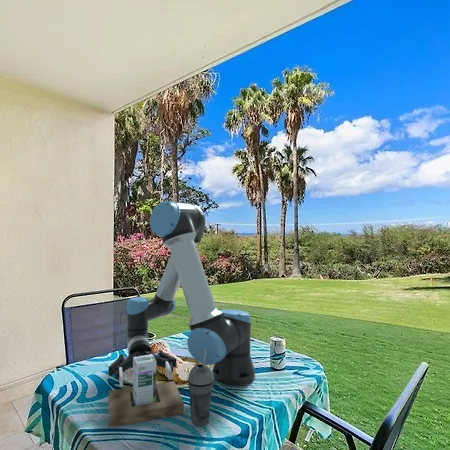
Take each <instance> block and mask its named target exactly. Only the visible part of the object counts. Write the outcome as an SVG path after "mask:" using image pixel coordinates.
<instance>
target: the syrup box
mask: <svg viewBox="0 0 450 450" xmlns="http://www.w3.org/2000/svg"><path fill="white" fill-rule="evenodd" d="M156 384H157V365H156V359H155V357H154V356H153V355H152V354H150V355H144V356H138V357H133V368H132V387H133V402H132V405H133V406H139V405H145V404H151V403H157V398H156ZM133 406H132V407H133Z"/></svg>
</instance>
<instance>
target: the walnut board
mask: <svg viewBox="0 0 450 450" xmlns="http://www.w3.org/2000/svg"><path fill="white" fill-rule="evenodd" d="M181 396H182V395H181V393H180V391H179V389H178V387H177V384H176V382H175V380H173V381H166V382H165V381H164V382H160V383H156V403H151V404H145V405H139V406H132V405H133V404H132V403H133V386H131V387H127V388H119V389H111V390H108V429H110V428H117V427H122V426H126V425H127V426H128V425H132V424H133V425H134V424H137V423H143V422H148V421H149V422H150V421H155V420H160V419H166V418H170V417H177V416H181V415H184V413H185V411H184V410H185V409H184V407H185V406H184V402H183V399H182V397H181Z"/></svg>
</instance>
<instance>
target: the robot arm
mask: <svg viewBox="0 0 450 450" xmlns="http://www.w3.org/2000/svg"><path fill="white" fill-rule="evenodd" d="M151 211H152V212H151V214H150V217H149V226H150V227H149V228H150V229H151V231H152V233H153V234H155V235H156V236H158V237H160V238H161V241H162V244H163V246H165V247H167V248H168V249H169V250H170V256H169V259H168V261H167V264H166V266H165V268H164V271H163V275H162V276H161V280H160V281H159V285H158V287H157V289H156V292H155V295H154V297H153V298H152V299H148V298H147V297H145V296H136V297H131V298H129V299H128V300H127V306H126V307H127V308H126V337H125V338H126V339H125V342H126V346H127V352H128V356H125V355H124V354H119V356H118V358H117V359H115V361H113V362H112V363H111V364H110V365H108V376H109V377H111V376H113V375H114V379H115V380H118V381H119V388H121V387H124V385H123V384H124V379H123V377H124V376H123V374H124V373H125V372H126V371H128V370H129V369H133V357H138V356H144V355H150V354H152V355H153V356H154V357H155V359H156V367H160V368H164V369H165V373H166V376H167V378H168V380H169V381H171V380H172V379H173V377H172V373H173V372H174V368H177V362H178V361H177V358H176V357H174V356H172V355H170V354H167V353H166V352H164V351H163V350H161V349H159V350H158V352H156V353H155V352H153V350H152V347H151V344H150V342H149V341H150V340H149V338H148V337H149V335H148V334H149V332H148V331H149V321H152V320H155V319H158V318H161V317H163V316H167V315H169V314H171V313H172V312H174V310H175V309H176V301H175V297H176V294H177V292H178V290H179V286H181V289H182V291H183V292H182V293H183V295H184V298H185V300H186V301H185V302H186V305H187V307H188V311H189V314H190V317H191V319H190V320H189V323H188V327H189V330H190V332H189V334H188V339H187V340H186V344H187V349H188V352H189V354H190V355H191V357H192V358H193V359H194V360H195V361H197V362H198V363H199V364H203V359H204V351H205V349H207V350H206V358H205V365H207V366H210V365H213V366H212V368H211V370H212V373H213V376H214V382H217V383H218V384H221V385H225V386H229V387H230V386H231V387H235V386H237V387H239V386H245V385H248V384H250V383H252V382H254V380H255V379H256V378H255V377H256V370H255V366H254V362H253V359H252V356H251V339H252V338H251V336H252V335H251V334H252V331H251V330H252V321H251V318H252V317H251V314H250V313H249V312H247V311H243V310H240V309H239V310H238V309H230V308H229V309H227V308H225V309H224V308H223V309H218V308H217V306H216V303H215V300H214V296H213V294H212V291H211V288H210V285H209V281H208V279H207V275H206V273H205V272H206V271H205V270H204V267H203V263H202V261H201V258H200V255H199V251H198V249H197V245H198V244H200V243H201V242H202V241H201V240H202V238H203V236H204V233H205V230H206V229H205V228H206V216H205V214H204V212H203V210H202V208H201V207H199V205H197V204H195V203H191V202H180V201H173V200H170V201H162V202H160V203H158V204H156V205H155V206H154V208H153V209H152V210H151Z"/></svg>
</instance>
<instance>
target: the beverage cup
mask: <svg viewBox="0 0 450 450" xmlns="http://www.w3.org/2000/svg"><path fill="white" fill-rule="evenodd" d="M206 350H207V349H205V351H204V359H203V364H201V363H198V364H196V365H195V366H194V365H193V367H192V368H191V369H190V370H189V374H188V376H187V384H188V389H189V400H190V401H189V403H190V415H191V416H190V417H191V422H192V425H193V426H194V427H197V428H205V427H206V426H208V424H209V421H210V416H211V415H210V414H211V404H212V403H211V402H212V393H213V388H214V383H215V380H214V376H213V373H212V368H211V367H209V365H205V358H206Z"/></svg>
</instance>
